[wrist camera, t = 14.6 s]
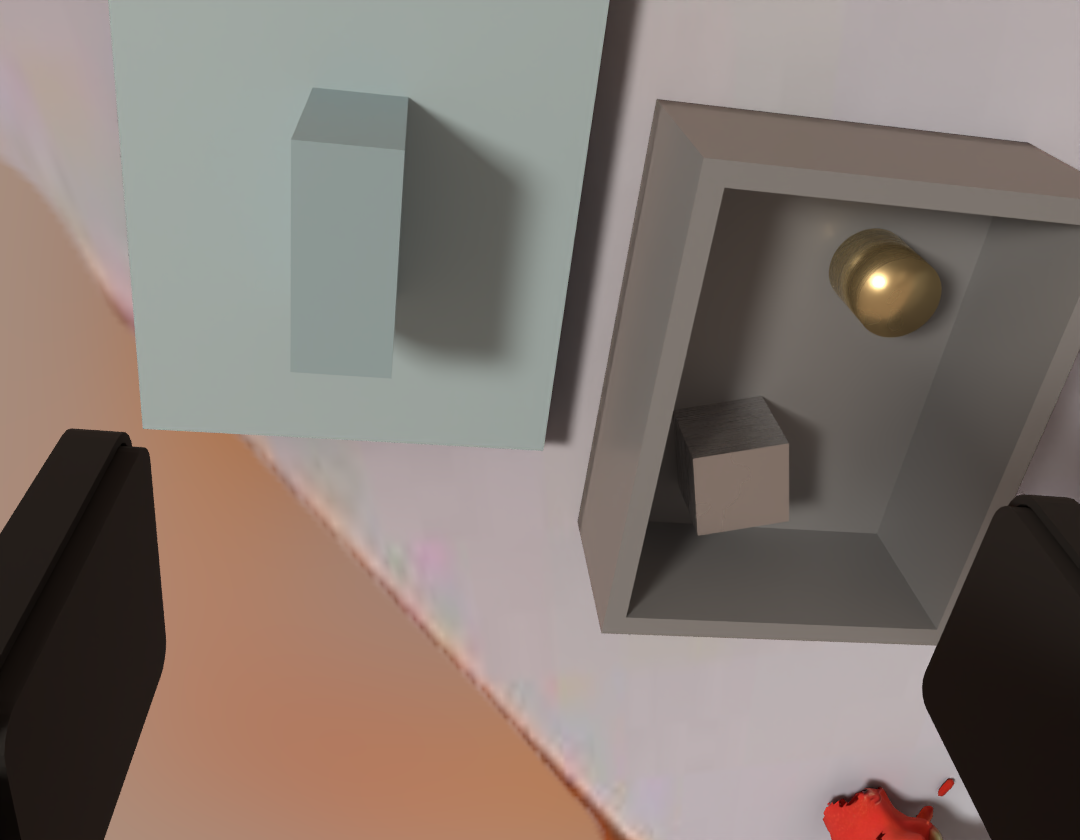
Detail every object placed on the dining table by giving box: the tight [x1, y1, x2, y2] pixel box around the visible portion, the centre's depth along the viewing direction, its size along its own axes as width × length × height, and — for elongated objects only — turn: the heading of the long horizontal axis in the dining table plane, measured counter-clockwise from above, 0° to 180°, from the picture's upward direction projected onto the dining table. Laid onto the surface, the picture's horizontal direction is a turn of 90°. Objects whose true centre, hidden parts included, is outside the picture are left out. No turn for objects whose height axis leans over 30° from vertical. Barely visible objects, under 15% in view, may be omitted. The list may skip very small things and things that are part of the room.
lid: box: [108, 0, 610, 451], centre depth 33 cm, size 15×19×8 cm
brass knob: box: [829, 228, 942, 338], centre depth 37 cm, size 3×3×3 cm
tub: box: [578, 99, 1080, 645], centre depth 38 cm, size 14×18×7 cm
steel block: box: [673, 396, 789, 536], centre depth 40 cm, size 4×4×4 cm
